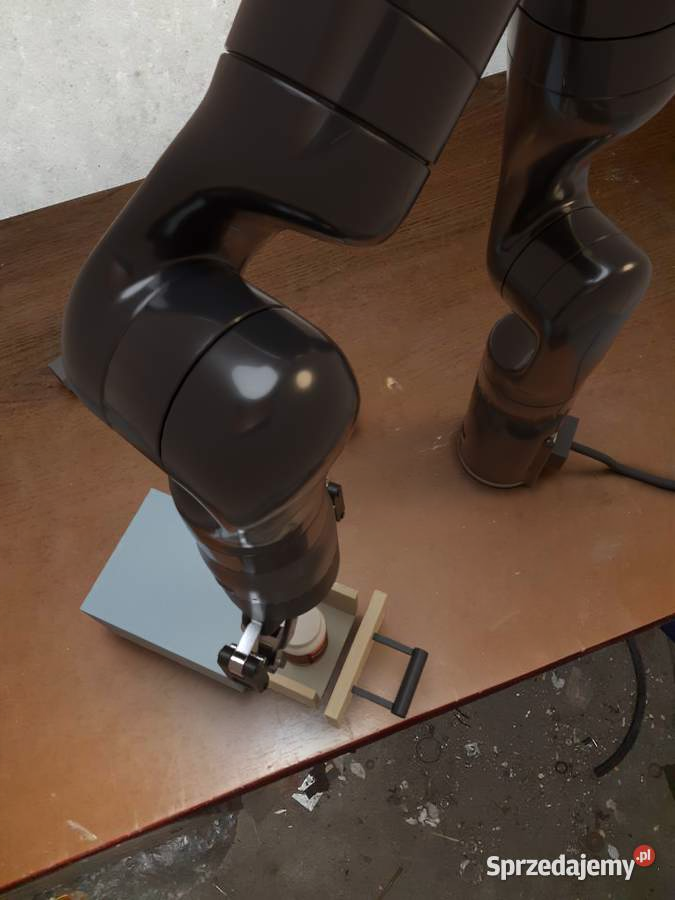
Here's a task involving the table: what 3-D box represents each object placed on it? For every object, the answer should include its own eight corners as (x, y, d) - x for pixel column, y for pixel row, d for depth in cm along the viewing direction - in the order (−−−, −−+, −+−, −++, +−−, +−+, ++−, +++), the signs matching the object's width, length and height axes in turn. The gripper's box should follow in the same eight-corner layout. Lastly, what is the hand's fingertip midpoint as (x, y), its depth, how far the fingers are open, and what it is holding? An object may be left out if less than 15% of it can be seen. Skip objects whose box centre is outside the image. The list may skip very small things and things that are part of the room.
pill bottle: (323, 671, 65) (318, 655, 57) (274, 661, 65) (263, 644, 58) (333, 621, 67) (330, 599, 59) (285, 612, 68) (276, 589, 60)
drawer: (434, 635, 67) (443, 616, 60) (391, 753, 63) (395, 747, 56) (262, 563, 71) (251, 538, 64) (210, 669, 66) (192, 654, 59)
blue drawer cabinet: (298, 574, 71) (290, 544, 63) (243, 693, 66) (226, 677, 58) (175, 523, 74) (151, 487, 66) (113, 632, 69) (78, 609, 61)
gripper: (276, 686, 35) (303, 718, 50) (379, 452, 41) (376, 542, 55) (148, 629, 37) (210, 676, 51) (265, 411, 42) (291, 509, 57)
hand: (296, 606), depth 53 cm, fingers open, 8 cm apart
